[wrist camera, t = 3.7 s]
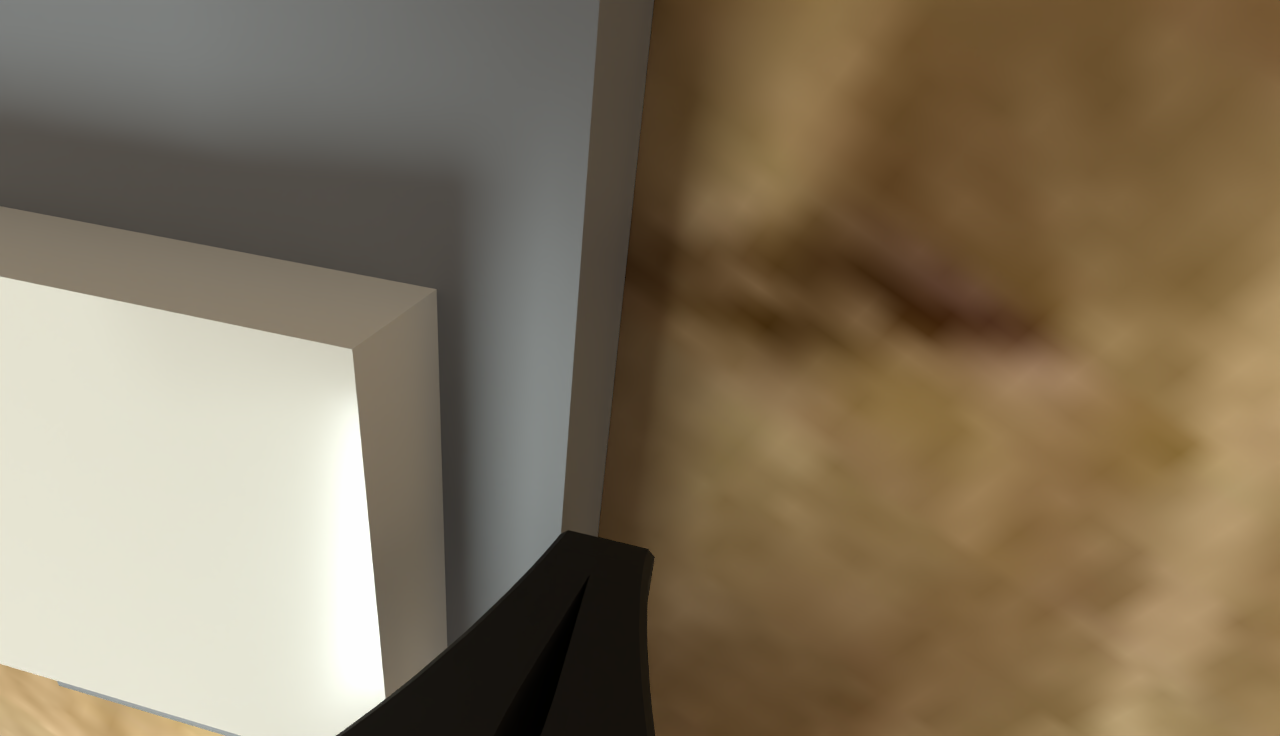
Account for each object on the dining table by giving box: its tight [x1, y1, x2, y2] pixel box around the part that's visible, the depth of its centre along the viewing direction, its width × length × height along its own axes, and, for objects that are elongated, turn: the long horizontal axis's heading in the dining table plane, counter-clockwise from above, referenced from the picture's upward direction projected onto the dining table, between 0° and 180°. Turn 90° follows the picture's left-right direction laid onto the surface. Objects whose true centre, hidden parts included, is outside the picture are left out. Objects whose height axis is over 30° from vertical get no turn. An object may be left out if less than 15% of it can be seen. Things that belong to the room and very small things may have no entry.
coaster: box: [0, 206, 447, 736], centre depth 11 cm, size 8×8×2 cm
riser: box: [0, 0, 654, 736], centre depth 13 cm, size 16×12×3 cm
